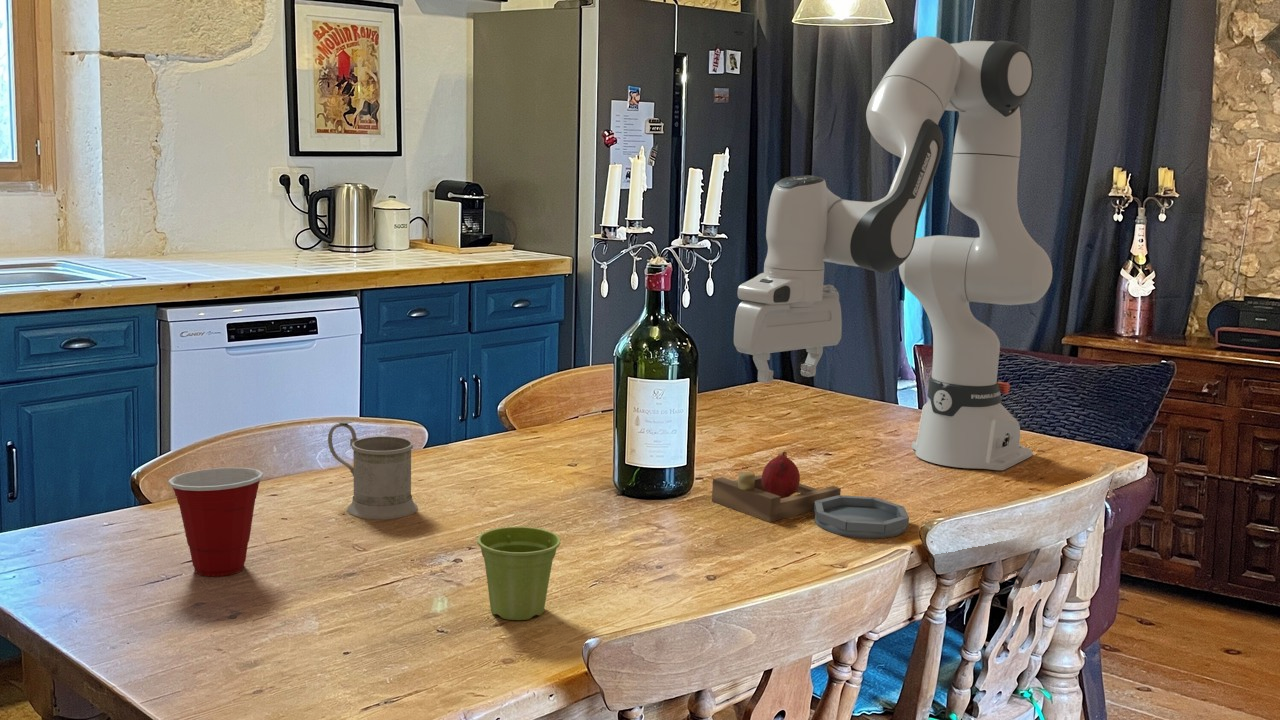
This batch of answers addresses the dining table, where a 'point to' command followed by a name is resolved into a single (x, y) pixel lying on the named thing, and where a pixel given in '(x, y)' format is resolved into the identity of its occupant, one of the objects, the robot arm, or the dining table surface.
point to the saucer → (860, 516)
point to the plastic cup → (217, 516)
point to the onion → (781, 476)
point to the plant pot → (518, 569)
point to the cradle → (766, 497)
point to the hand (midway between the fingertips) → (786, 379)
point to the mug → (379, 475)
